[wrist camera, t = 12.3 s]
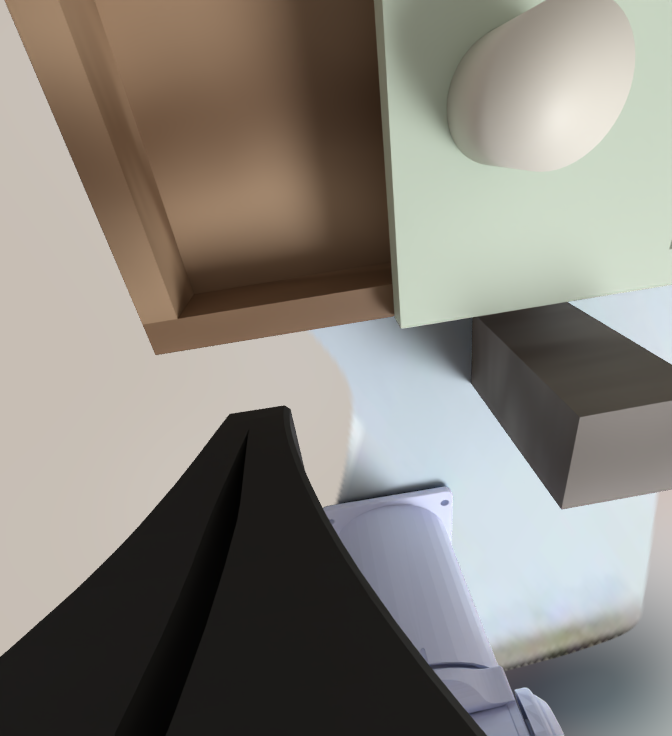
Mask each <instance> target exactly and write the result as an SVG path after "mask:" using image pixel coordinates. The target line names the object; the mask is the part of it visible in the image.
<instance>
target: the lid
mask: <svg viewBox="0 0 672 736" xmlns="http://www.w3.org/2000/svg"><path fill="white" fill-rule="evenodd" d="M374 9H375V25H376V40H377V55H378V70H379V86H380V101H381V116H382V131H383V147H384V162H385V177H386V192H387V207H388V223H389V238H390V253H391V268H392V284H393V299H394V314H395V319H396V321H397V322H398V324H399V326H400V328H401V329H404V328H410V327H416V326H422V325H428V324H434V323H441V322H447V321H453V320H459V319H465V318H471V317H477V316H483V315H490V314H496V313H502V312H508V311H514V310H520V309H526V308H532V307H539V306H545V305H551V304H557V303H563V302H569V301H575V300H581V299H588V298H594V297H600V296H606V295H612V294H618V293H624V292H630V291H636V290H643V289H649V288H655V287H661V286H667V285H672V0H374Z"/></svg>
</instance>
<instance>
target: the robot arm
mask: <svg viewBox="0 0 672 736" xmlns="http://www.w3.org/2000/svg"><path fill="white" fill-rule="evenodd" d="M452 508H453V494H452V492H451V489H450V488H448V487H439V488H433V489H427V490H421V491H415V492H409V493H403V494H397V495H391V496H385V497H379V498H373V499H367V500H361V501H355V502H348V503H342V504H336V505H330V506H326V507H324V508H322V506H321V504H320V502H319V500H318V498H317V496H316V494H315V492H314V490H313V488H312V486H311V484H310V481H309V479H308V477H307V475H306V473H305V470H304V465H303V461H302V457H301V452H300V448H299V444H298V439H297V435H296V431H295V427H294V423H293V418H292V414H291V410H290V409H289V408H288V407H286V406H278V407H272V408H266V409H259V410H253V411H246V412H240V413H234V414H229V416H228V417H227V418H226V420H225V421H224V422H223V423H222V425H221V426H220V427H219V429H218V430H217V431H216V432H215V434H214V435H213V436H212V438H211V439H210V440H209V442H208V443H207V444H206V446H205V447H204V448H203V450H202V451H201V452H200V454H199V455H198V456H197V457H196V459H195V460H194V461H193V462H192V464H191V465H190V466H189V468H188V469H187V470H186V471H185V473H184V474H183V475H182V476H181V478H180V479H179V480H178V481H177V483H176V484H175V485H174V487H173V488H172V489H171V490H170V491H169V492H168V493H167V494H166V496H165V497H164V498H163V499H162V500H161V501H160V503H159V504H158V505H157V506H156V507H155V508H154V510H153V511H152V512H151V513H150V514H149V515H148V516H147V517H146V519H145V520H144V521H143V522H142V523H141V524H140V526H139V527H138V528H137V529H136V530H135V531H134V532H133V533H132V534H131V535H130V536H129V537H128V539H126V540H125V542H124V543H123V544H122V545H121V546H120V547H119V548H118V549H117V550H116V551H115V552H114V553H113V554H112V555H111V556H110V557H109V558H108V559H107V560H106V561H105V562H104V563H103V564H102V565H101V566H100V567H99V568H98V569H97V570H96V571H95V572H94V573H93V574H92V575H91V576H90V577H89V578H88V579H87V580H86V581H84V582H83V583H82V584H81V585H80V587H78V588H77V589H76V590H75V591H74V592H73V593H72V594H71V595H69V596H68V597H67V598H66V599H65V600H64V601H63V602H62V603H60V604H59V605H58V606H57V607H56V608H55V609H54V610H53V611H52V612H50V613H49V614H48V615H47V616H46V617H45V618H44V619H43V620H42V621H40V622H39V623H38V624H37V625H36V626H35V627H34V628H33V629H31V630H30V631H29V632H28V633H27V634H26V635H25V636H24V637H22V638H21V639H20V640H19V641H18V642H17V643H16V644H15V645H13V646H12V647H11V648H10V649H9V650H8V651H7V652H5V653H4V654H3V655H2V656H1V657H0V736H565V735H564V733H563V731H562V729H561V727H560V725H559V723H558V721H557V720H556V718H555V716H554V714H553V712H552V710H551V709H550V707H549V706H548V704H547V703H546V702H545V701H543V700H542V699H541V698H539V697H538V696H536V695H533V693H532V692H531V691H530V690H529V689H528V688H520V689H516V690H515V694H516V698H517V700H518V704H519V706H520V710H521V713H522V715H523V718H524V720H523V718H522V715H521V713H520V711H519V708H518V706H517V704H516V701H515V698H514V696H513V693H512V690H511V688H510V685H509V683H508V680H507V678H506V675H505V673H504V670H503V667H501V666H498V664H497V661H496V658H495V656H494V653H493V651H492V648H491V645H490V643H489V640H488V638H487V635H486V632H485V630H484V627H483V625H482V622H481V619H480V617H479V614H478V612H477V609H476V606H475V604H474V601H473V599H472V596H471V593H470V591H469V588H468V586H467V583H466V580H465V578H464V575H463V573H462V570H461V567H460V565H459V562H458V560H457V557H456V554H455V552H454V549H453V547H452Z"/></svg>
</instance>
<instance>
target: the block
mask: <svg viewBox="0 0 672 736" xmlns="http://www.w3.org/2000/svg"><path fill="white" fill-rule="evenodd" d="M471 384H472V385H473V387H474V388H475V389H476V391H477V392H478V394H479V395H480V396H481V398H482V399H483V401H484V402H485V403H486V405H487V406H488V408H489V409H490V410H491V412H492V413H493V415H494V416H495V417H496V419H497V420H498V422H499V423H500V424H501V426H502V427H503V429H504V430H505V431H506V433H507V434H508V436H509V437H510V438H511V440H512V441H513V443H514V444H515V445H516V447H517V448H518V449H519V451H520V452H521V454H522V455H523V456H524V458H525V459H526V461H527V462H528V463H529V465H530V466H531V468H532V469H533V470H534V472H535V473H536V475H537V476H538V477H539V479H540V480H541V482H542V483H543V484H544V486H545V487H546V489H547V490H548V491H549V493H550V494H551V496H552V497H553V498H554V500H555V501H556V503H557V504H558V505H559V507H560V508H561V509H567V508H572V507H578V506H583V505H589V504H594V503H600V502H605V501H611V500H616V499H622V498H627V497H633V496H638V495H644V494H649V493H655V492H661V491H666V490H671V489H672V365H671V364H670V363H668V362H666V361H665V360H663V359H661V358H660V357H658V356H656V355H655V354H653V353H651V352H650V351H648V350H646V349H645V348H643V347H641V346H640V345H638V344H636V343H635V342H633V341H631V340H630V339H628V338H626V337H625V336H623V335H621V334H620V333H618V332H616V331H615V330H613V329H611V328H610V327H608V326H606V325H605V324H603V323H601V322H600V321H598V320H596V319H595V318H593V317H591V316H590V315H588V314H586V313H585V312H583V311H581V310H580V309H578V308H576V307H575V306H573V305H571V304H570V303H568V302H563V303H557V304H551V305H545V306H539V307H532V308H526V309H520V310H514V311H508V312H502V313H496V314H490V315H483V316H477V317H473V318H472V369H471Z"/></svg>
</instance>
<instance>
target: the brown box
mask: <svg viewBox="0 0 672 736" xmlns="http://www.w3.org/2000/svg"><path fill="white" fill-rule="evenodd" d="M5 2H6V5H7V7H8V9H9V12H10V14H11V17H12V19H13V21H14V24H15V26H16V28H17V30H18V33H19V35H20V38H21V40H22V42H23V45H24V47H25V49H26V51H27V54H28V56H29V59H30V61H31V64H32V66H33V68H34V71H35V73H36V75H37V78H38V80H39V82H40V85H41V87H42V89H43V91H44V94H45V96H46V99H47V101H48V103H49V106H50V108H51V110H52V113H53V115H54V117H55V120H56V122H57V125H58V127H59V129H60V132H61V134H62V136H63V139H64V141H65V143H66V146H67V148H68V150H69V153H70V155H71V157H72V160H73V162H74V165H75V167H76V169H77V172H78V174H79V176H80V179H81V181H82V183H83V186H84V188H85V190H86V193H87V195H88V197H89V200H90V202H91V204H92V207H93V209H94V212H95V214H96V216H97V218H98V221H99V223H100V226H101V228H102V230H103V232H104V235H105V237H106V240H107V242H108V244H109V247H110V249H111V251H112V254H113V256H114V258H115V261H116V263H117V265H118V268H119V270H120V273H121V275H122V277H123V280H124V282H125V284H126V287H127V289H128V291H129V294H130V296H131V298H132V301H133V303H134V306H135V308H136V310H137V313H138V315H139V317H140V319H141V322H142V324H143V327H144V329H145V331H146V334H147V336H148V338H149V341H150V343H151V345H152V348H153V350H154V352H155V355H159V354H165V353H171V352H177V351H184V350H190V349H196V348H202V347H208V346H214V345H221V344H226V343H233V342H239V341H245V340H251V339H257V338H264V337H269V336H276V335H282V334H288V333H294V332H300V331H306V330H313V329H319V328H325V327H331V326H337V325H343V324H349V323H356V322H362V321H368V320H374V319H380V318H386V317H392V316H395V314H394V299H393V284H392V268H391V253H390V238H389V223H388V207H387V192H386V177H385V162H384V147H383V131H382V116H381V101H380V86H379V70H378V55H377V40H376V25H375V9H374V0H5Z"/></svg>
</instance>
